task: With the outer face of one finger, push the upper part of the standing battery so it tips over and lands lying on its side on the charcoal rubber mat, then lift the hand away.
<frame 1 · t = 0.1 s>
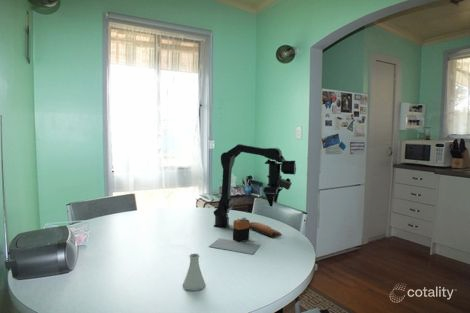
hand: (273, 204, 144), 15 cm above the table, tool pointing down, fingers open, 9 cm apart
flask: (194, 286, 92), on the table
rubber mat: (234, 246, 126), on the table
battery: (240, 240, 134), on the table, touching rubber mat
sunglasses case: (265, 233, 147), on the table
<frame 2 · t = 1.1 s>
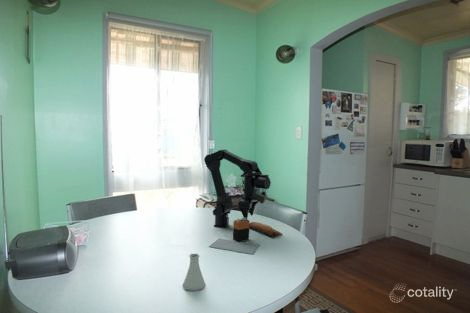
hand: (248, 217, 144), 8 cm above the table, tool pointing down, fingers open, 9 cm apart
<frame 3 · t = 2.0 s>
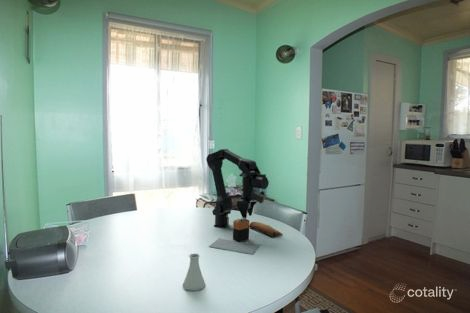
hand: (247, 217, 142), 8 cm above the table, tool pointing down, fingers open, 8 cm apart
battery: (240, 240, 134), on the table, touching gripper, rubber mat
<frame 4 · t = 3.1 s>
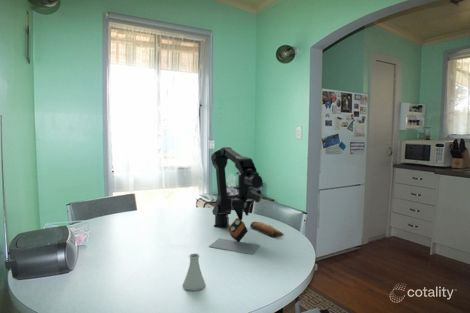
hand: (243, 217, 136), 10 cm above the table, tool pointing down, fingers open, 9 cm apart
battery: (240, 234, 133), point 3 cm above the table, touching rubber mat
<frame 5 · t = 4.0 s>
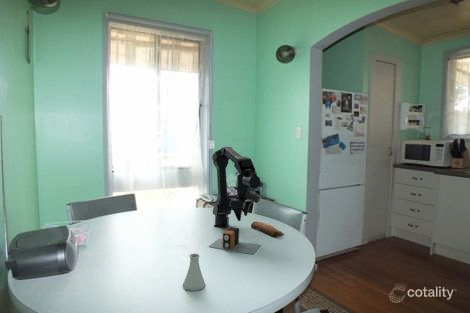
hand: (242, 218, 135), 10 cm above the table, tool pointing down, fingers open, 9 cm apart
battery: (234, 234, 131), point 4 cm above the table, touching rubber mat
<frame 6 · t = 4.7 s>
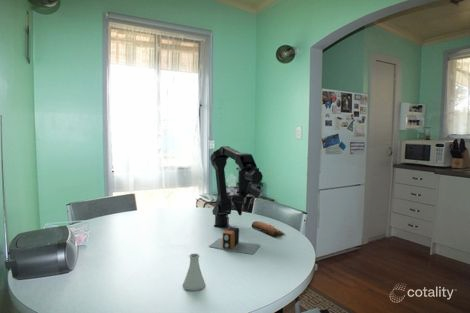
hand: (243, 212, 137), 12 cm above the table, tool pointing down, fingers open, 9 cm apart
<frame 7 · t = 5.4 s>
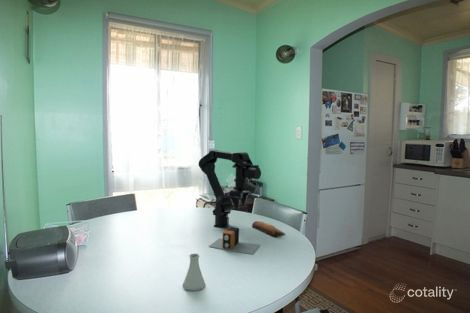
hand: (240, 207, 147), 12 cm above the table, tool pointing down, fingers open, 9 cm apart
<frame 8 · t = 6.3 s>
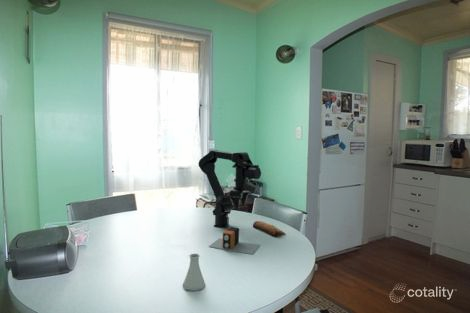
hand: (240, 207, 147), 12 cm above the table, tool pointing down, fingers open, 9 cm apart
at the end: battery tilted 90°; battery inside the target area (1.7 cm from its centre), point 3.7 cm above the table; the gripper is holding nothing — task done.
